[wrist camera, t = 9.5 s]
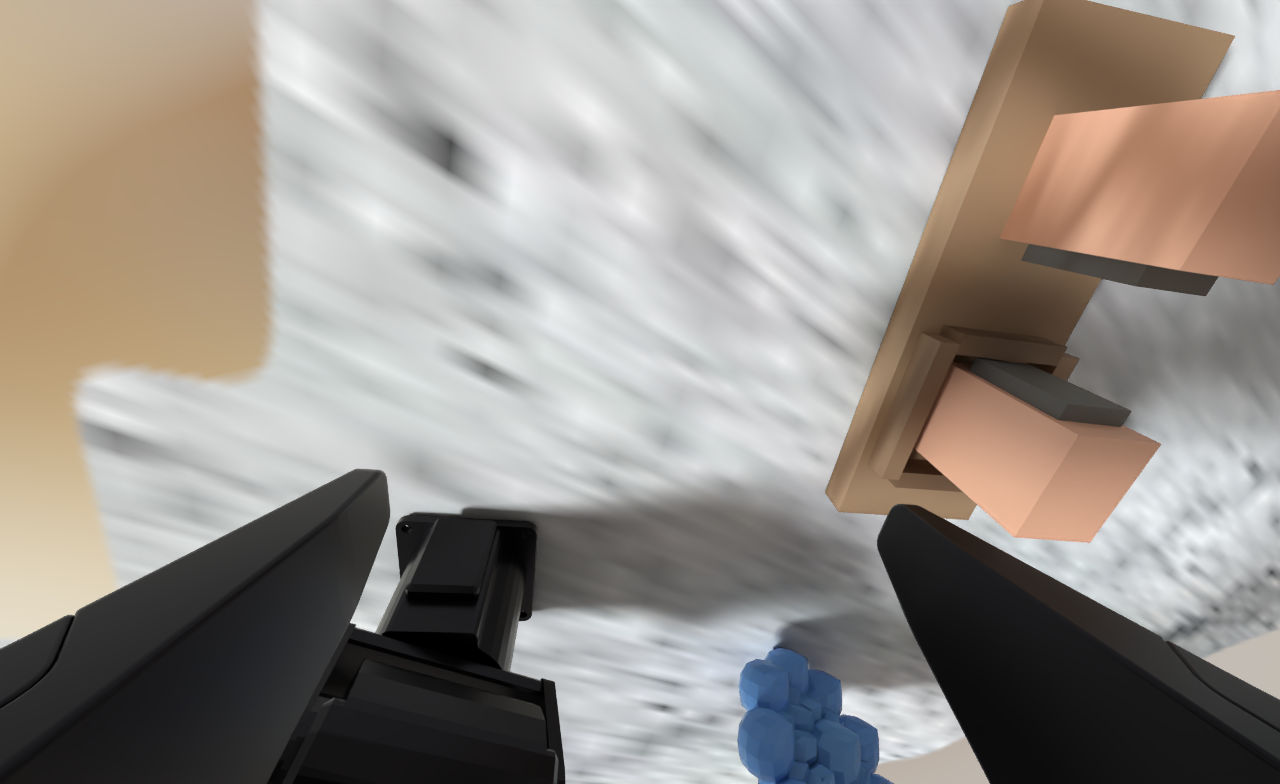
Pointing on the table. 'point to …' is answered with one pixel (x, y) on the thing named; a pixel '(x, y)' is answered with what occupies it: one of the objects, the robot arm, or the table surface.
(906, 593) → the robot arm
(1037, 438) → the salmon and grey block
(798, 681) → the grapes
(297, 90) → the table surface
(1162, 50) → the rail
